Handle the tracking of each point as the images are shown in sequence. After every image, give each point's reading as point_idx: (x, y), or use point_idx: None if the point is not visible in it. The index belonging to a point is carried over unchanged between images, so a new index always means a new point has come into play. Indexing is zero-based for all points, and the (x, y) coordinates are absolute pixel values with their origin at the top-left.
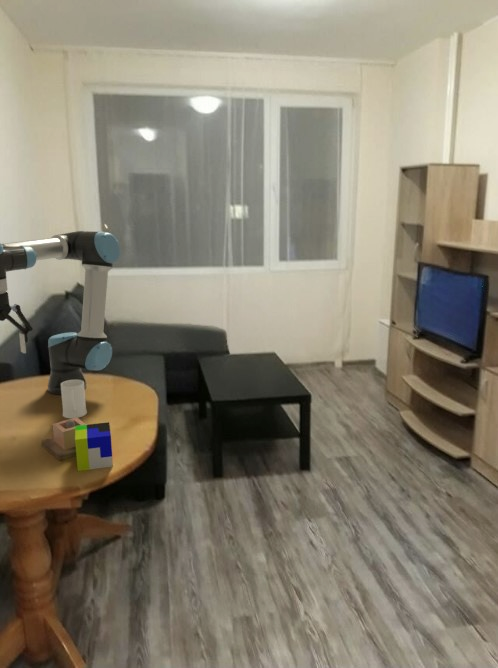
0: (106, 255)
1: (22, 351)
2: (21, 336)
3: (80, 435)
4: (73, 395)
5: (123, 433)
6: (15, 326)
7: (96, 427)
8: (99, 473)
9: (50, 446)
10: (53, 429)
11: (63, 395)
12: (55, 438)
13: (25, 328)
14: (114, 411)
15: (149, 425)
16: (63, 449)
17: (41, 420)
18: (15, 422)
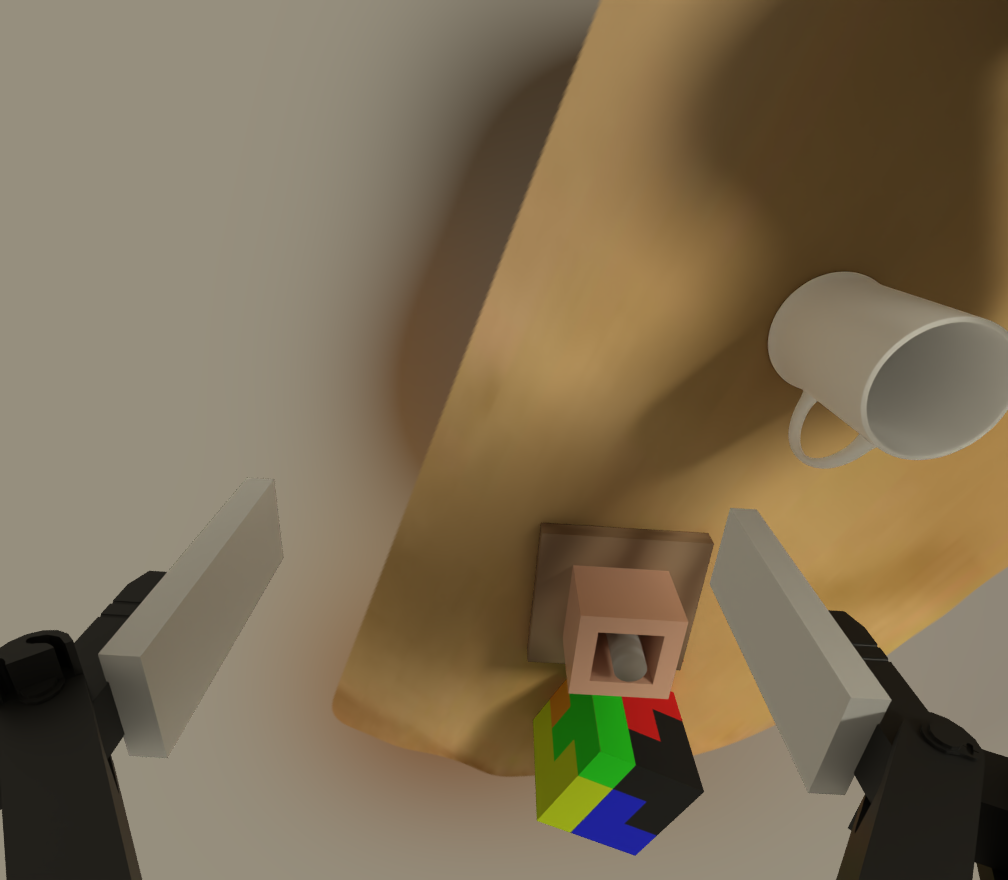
0: None
1: (722, 560)
2: (798, 740)
3: (567, 809)
4: (837, 466)
5: None
6: (868, 840)
7: (643, 797)
8: None
9: (541, 590)
10: (577, 602)
11: (828, 380)
12: (572, 589)
13: (978, 832)
14: None
15: (905, 632)
16: (561, 634)
17: (673, 290)
18: (571, 216)
